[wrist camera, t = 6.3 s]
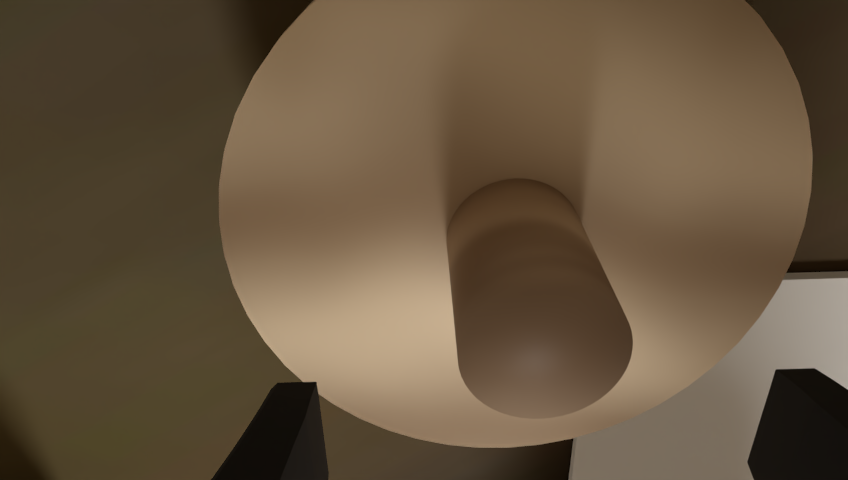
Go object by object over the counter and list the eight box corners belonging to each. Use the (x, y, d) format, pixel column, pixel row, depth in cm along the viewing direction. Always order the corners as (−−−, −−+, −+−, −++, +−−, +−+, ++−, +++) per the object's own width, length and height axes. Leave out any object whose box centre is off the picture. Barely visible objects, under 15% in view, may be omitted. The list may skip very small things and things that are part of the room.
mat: (868, 528, 28) (874, 537, 28) (561, 538, 28) (563, 546, 28) (990, 266, 22) (999, 273, 21) (592, 278, 22) (595, 285, 21)
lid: (735, 414, 19) (829, 572, 15) (275, 437, 19) (237, 600, 15) (865, -105, 12) (1096, -87, 8) (166, -66, 12) (43, -31, 8)
